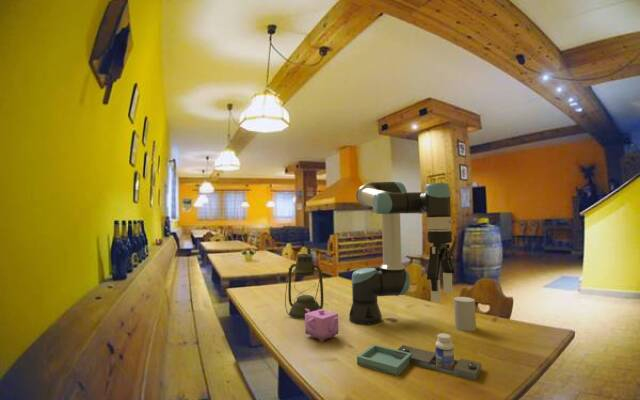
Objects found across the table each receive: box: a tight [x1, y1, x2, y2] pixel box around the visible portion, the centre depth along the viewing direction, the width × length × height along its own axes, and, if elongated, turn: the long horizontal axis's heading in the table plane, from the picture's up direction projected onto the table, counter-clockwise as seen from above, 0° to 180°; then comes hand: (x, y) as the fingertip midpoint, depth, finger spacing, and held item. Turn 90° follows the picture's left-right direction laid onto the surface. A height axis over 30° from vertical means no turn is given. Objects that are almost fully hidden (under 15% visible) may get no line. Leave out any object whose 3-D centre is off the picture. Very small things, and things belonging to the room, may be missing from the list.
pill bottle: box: [434, 333, 455, 370], centre depth 101 cm, size 5×5×10 cm
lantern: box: [284, 253, 324, 320], centre depth 162 cm, size 21×18×30 cm
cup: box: [453, 296, 477, 332], centre depth 136 cm, size 8×8×12 cm
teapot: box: [304, 308, 340, 343], centre depth 129 cm, size 15×13×11 cm
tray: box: [356, 344, 412, 377], centre depth 105 cm, size 14×12×2 cm
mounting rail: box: [393, 344, 482, 382], centre depth 103 cm, size 26×8×3 cm, turn 53°
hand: (442, 297), depth 102 cm, fingers open, 13 cm apart
